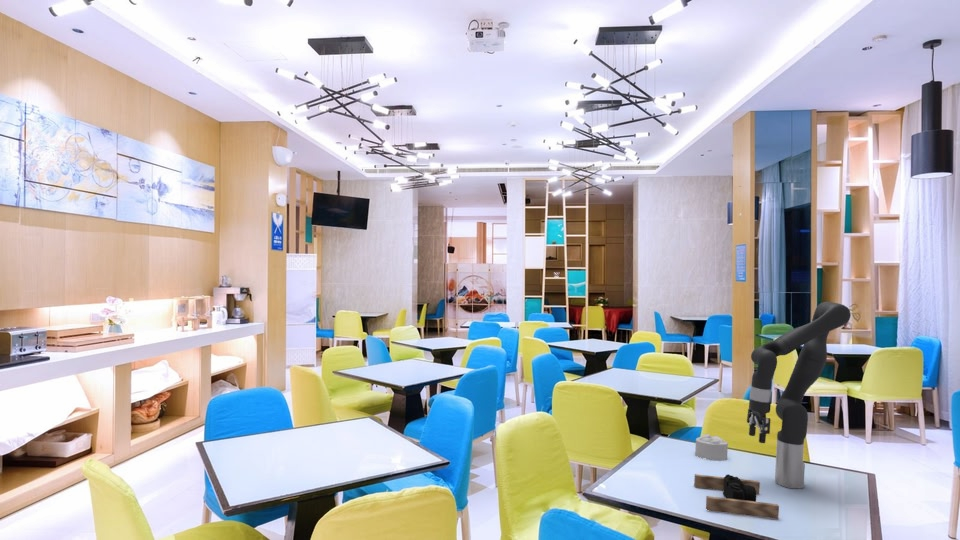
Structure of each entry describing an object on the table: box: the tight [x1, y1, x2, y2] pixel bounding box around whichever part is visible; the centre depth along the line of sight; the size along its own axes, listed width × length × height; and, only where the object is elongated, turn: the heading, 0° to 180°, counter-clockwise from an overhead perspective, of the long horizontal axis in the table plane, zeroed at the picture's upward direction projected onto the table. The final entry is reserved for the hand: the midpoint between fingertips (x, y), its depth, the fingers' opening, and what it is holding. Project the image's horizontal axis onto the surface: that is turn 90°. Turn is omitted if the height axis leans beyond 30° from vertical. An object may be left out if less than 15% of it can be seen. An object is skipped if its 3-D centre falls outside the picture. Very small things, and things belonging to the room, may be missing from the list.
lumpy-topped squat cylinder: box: [694, 433, 729, 461], centre depth 238 cm, size 10×13×9 cm
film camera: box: [722, 474, 757, 502], centre depth 191 cm, size 15×10×9 cm, turn 168°
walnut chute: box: [693, 473, 780, 520], centre depth 192 cm, size 23×21×4 cm
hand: (756, 439), depth 209 cm, fingers open, 8 cm apart
